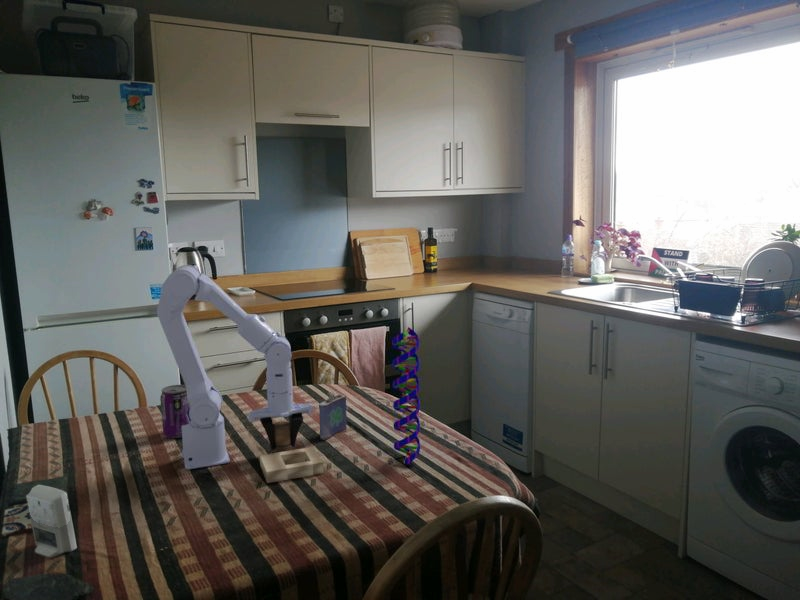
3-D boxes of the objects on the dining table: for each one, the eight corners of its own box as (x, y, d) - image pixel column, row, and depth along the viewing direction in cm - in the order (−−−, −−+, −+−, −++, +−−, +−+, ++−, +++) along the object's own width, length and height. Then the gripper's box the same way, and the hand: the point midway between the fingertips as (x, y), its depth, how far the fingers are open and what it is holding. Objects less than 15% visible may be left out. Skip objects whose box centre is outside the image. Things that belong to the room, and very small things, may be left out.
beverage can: (187, 439, 156) (183, 392, 154) (158, 439, 156) (154, 393, 154) (197, 429, 163) (193, 384, 161) (169, 429, 163) (166, 384, 161)
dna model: (418, 467, 139) (416, 332, 134) (391, 465, 140) (389, 332, 135) (422, 455, 145) (421, 326, 140) (397, 454, 146) (395, 326, 141)
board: (267, 483, 132) (266, 471, 132) (260, 466, 141) (259, 455, 140) (323, 473, 137) (323, 462, 136) (313, 457, 145) (313, 446, 145)
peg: (275, 458, 145) (274, 428, 144) (272, 451, 149) (270, 422, 147) (293, 455, 146) (292, 426, 145) (289, 448, 150) (288, 420, 149)
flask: (325, 441, 154) (323, 398, 152) (316, 438, 156) (314, 396, 154) (349, 429, 162) (348, 388, 160) (340, 426, 163) (339, 386, 162)
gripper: (250, 399, 139) (253, 458, 141) (315, 391, 144) (317, 447, 146) (245, 390, 145) (248, 446, 147) (308, 382, 150) (310, 437, 153)
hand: (282, 446), depth 147 cm, fingers closed on peg, 4 cm apart
